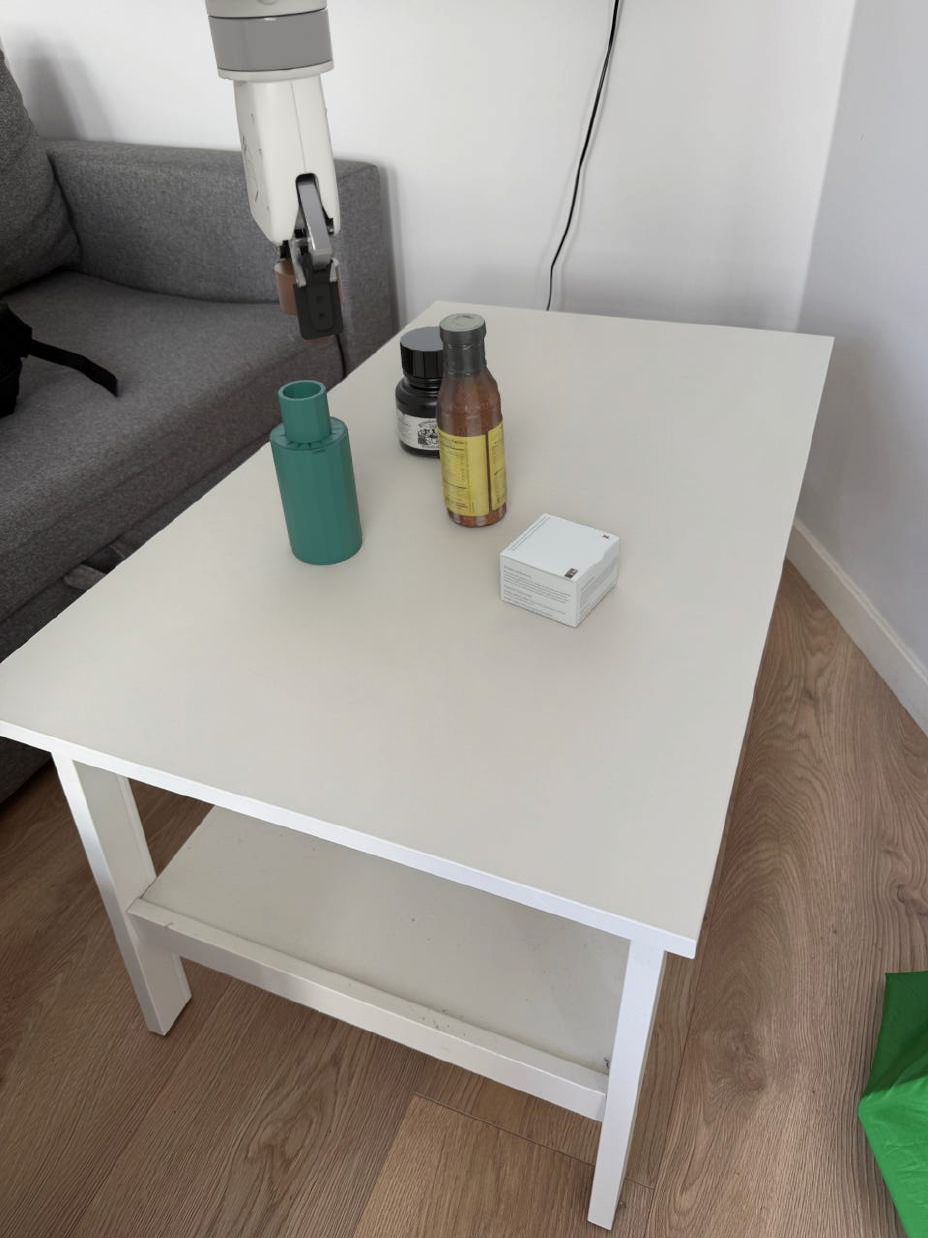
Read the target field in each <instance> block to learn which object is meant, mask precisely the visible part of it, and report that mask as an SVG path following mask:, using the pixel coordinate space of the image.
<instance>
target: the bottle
mask: <svg viewBox="0 0 928 1238" xmlns="http://www.w3.org/2000/svg"><path fill="white" fill-rule="evenodd" d="M327 393H328V392H327V388H326V386H325V385H324V383H323V382H320V381H317V380H314V379H313V380H312V379H311V380H309V379H301V380H296V381H290V382H288V383H286V384H284V385H283V386H282V385H281V387H280V388H279V390H278V391H277V397H278V402H279V403H278V404H279V408H280V413H281V419H282V421H281V422H280V423H279V424H278V425H277V426H275V427H274V428H272V429H271V432H270V434H269V436H268V437H269V438H268V439H269V444H270V447H271V454H272V459H273V463H274V469H275V474H276V479H277V484H278V485H277V486H278V490H279V494H280V499H281V504H282V510H283V515H284V520H285V525H286V531H287V536H288V541H289V545H290V548H291V552H292V555H293V556H294V557H295V558H296V559H297V560H299V561H300V562H303V563H305V564H309V565H315V566H328V565H333V564H338V563H341V562H344V561H346V560H348V559H350V558H352V557H353V556H355V554H357V553H358V552H359V550H360V549H361V547H362V544H363V531H362V523H361V518H360V509H359V503H358V502H359V501H358V494H357V486H356V478H355V472H354V464H353V457H352V449H351V441H350V435H349V428H348V426H347V424H346V423H345V421H343V420H342V419H339V418H337V417H336V416H332V415H331V414H330V407H329V400H328V394H327Z"/></svg>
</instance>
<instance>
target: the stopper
mask: <svg viewBox="0 0 928 1238" xmlns="http://www.w3.org/2000/svg"><path fill="white" fill-rule="evenodd" d="M301 257H302V258H304V255H303V256H301ZM333 259H334V265H335V270H336V277H337V280H338V288H339V296H340V303H341V308H342V307H343V306H344V305H345V299H344V298H345V297H344V291H343V283H342V275H341V274H342V273H341V266H340V261H339V260H338V259H337V258H336V257H333ZM280 261H281V262H279V263H278V264H277V263H276V264H275V265H274V267H273V271H274V277H275V283H276V289H277V295H278V300H279V306H280V310H281V311H282V312H284V314H287V315H290V316H294V317H298V316H297V310H296V304H295V298H294V291H293V285H292V284H297V282H296V277H295V272H294V267H293V262H292V258H288V259H282V260H280ZM299 334H300V333H299ZM299 336H300V339H301V341H302V342H304V343H308V344H320V343H321V344H322V343H325V342H328V341H330V340H331V339H333V337H334V335H332V336H327V337H321V338H315V339H310V340H305V339H303V338H302V336H301V334H300V335H299Z"/></svg>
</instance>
